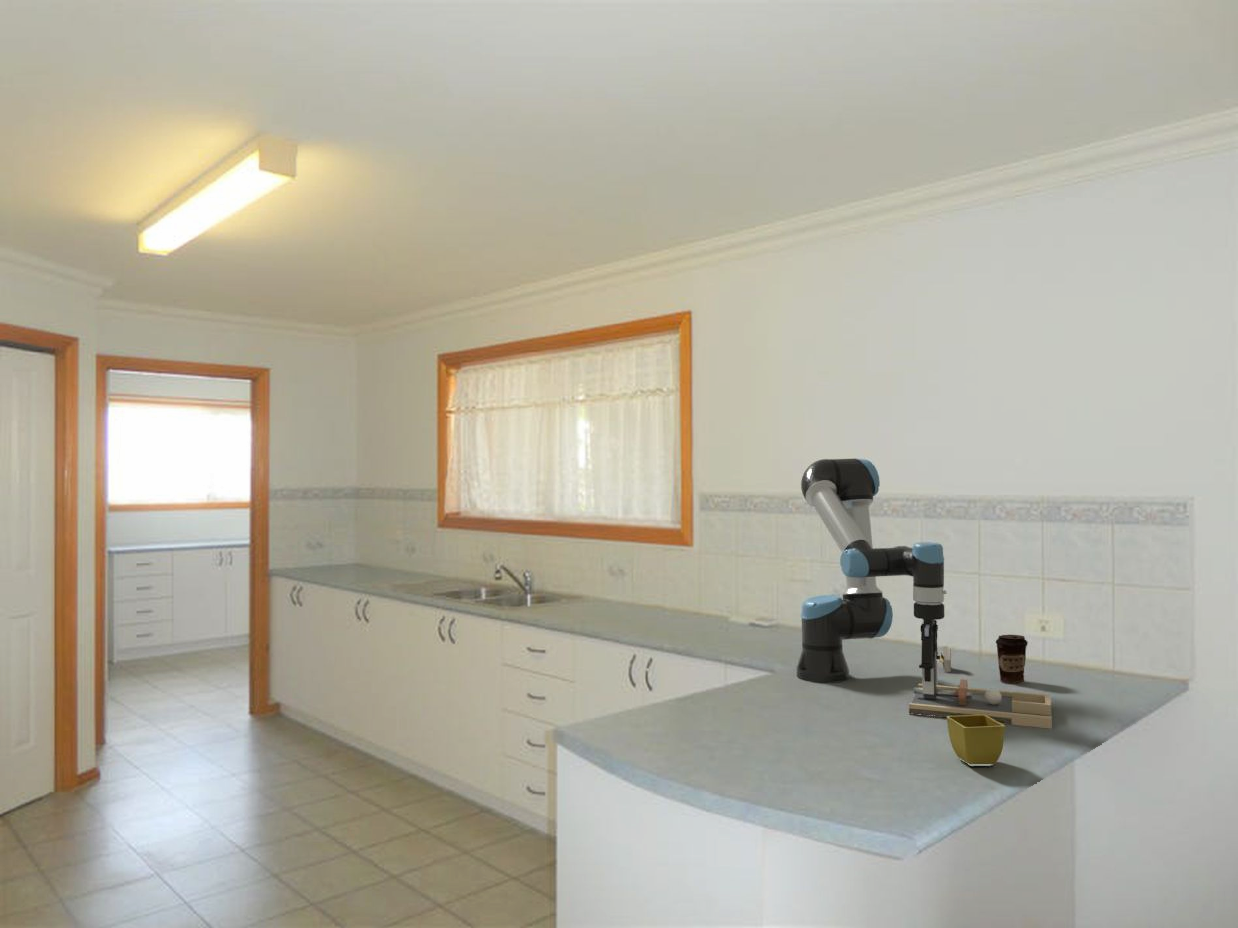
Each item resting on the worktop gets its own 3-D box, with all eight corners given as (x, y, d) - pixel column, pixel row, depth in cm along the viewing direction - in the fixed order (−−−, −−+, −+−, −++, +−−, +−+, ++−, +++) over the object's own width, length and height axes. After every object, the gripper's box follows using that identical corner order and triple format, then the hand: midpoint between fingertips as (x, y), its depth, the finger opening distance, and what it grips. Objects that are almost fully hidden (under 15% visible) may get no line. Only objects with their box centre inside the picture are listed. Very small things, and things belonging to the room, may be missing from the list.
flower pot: (946, 757, 187) (945, 715, 187) (985, 755, 188) (984, 713, 188) (965, 771, 178) (965, 727, 178) (1006, 769, 179) (1006, 725, 179)
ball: (984, 705, 220) (983, 689, 220) (984, 701, 224) (984, 686, 224) (1001, 707, 219) (1001, 691, 219) (1001, 703, 222) (1001, 687, 222)
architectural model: (939, 673, 263) (938, 648, 263) (935, 668, 269) (934, 643, 269) (951, 673, 262) (950, 648, 262) (947, 668, 269) (946, 644, 269)
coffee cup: (1032, 686, 244) (1031, 639, 244) (1000, 685, 246) (999, 638, 246) (1024, 678, 253) (1023, 633, 253) (993, 677, 255) (992, 632, 255)
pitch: (909, 714, 219) (908, 698, 219) (918, 692, 239) (918, 678, 239) (1051, 728, 206) (1051, 711, 206) (1049, 704, 226) (1049, 689, 226)
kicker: (912, 700, 225) (911, 653, 225) (916, 691, 233) (915, 646, 233) (970, 705, 219) (970, 657, 219) (972, 697, 228) (972, 650, 228)
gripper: (940, 609, 216) (941, 700, 216) (947, 597, 236) (948, 680, 236) (908, 608, 219) (909, 697, 219) (918, 595, 239) (919, 677, 239)
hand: (930, 688), depth 228 cm, fingers open, 9 cm apart
